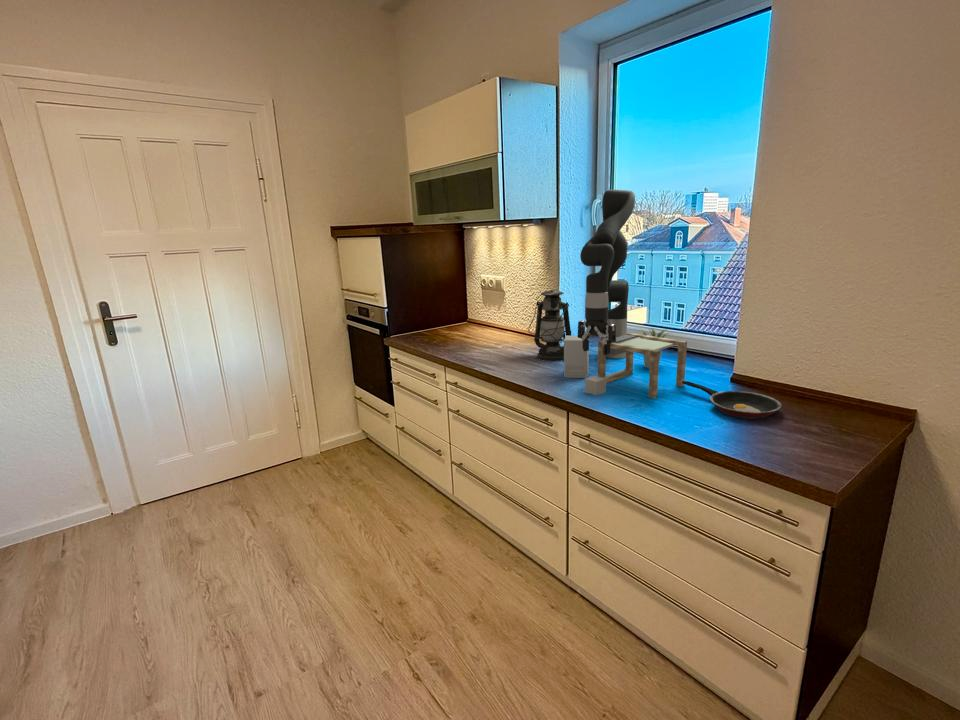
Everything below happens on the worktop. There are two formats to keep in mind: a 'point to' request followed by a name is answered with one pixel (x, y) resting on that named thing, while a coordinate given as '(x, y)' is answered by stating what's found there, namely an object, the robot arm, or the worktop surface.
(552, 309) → the lantern
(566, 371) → the supplement box
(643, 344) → the trapdoor
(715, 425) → the worktop surface
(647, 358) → the house plant
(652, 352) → the frame
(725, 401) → the frying pan
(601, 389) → the cube
